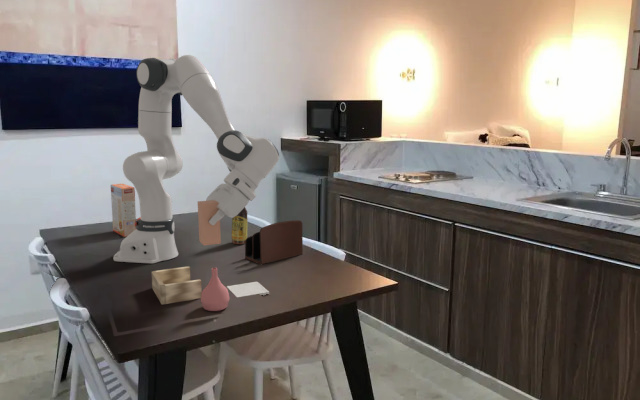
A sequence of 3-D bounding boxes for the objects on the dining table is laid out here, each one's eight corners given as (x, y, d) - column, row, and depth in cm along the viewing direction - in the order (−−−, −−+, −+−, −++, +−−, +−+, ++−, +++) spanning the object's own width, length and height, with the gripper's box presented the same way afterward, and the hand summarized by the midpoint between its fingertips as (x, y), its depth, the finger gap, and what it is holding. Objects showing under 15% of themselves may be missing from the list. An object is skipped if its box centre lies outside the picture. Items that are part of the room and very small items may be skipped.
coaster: (237, 299, 146) (237, 297, 146) (226, 288, 155) (226, 286, 155) (269, 294, 151) (269, 291, 151) (257, 283, 160) (257, 281, 160)
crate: (161, 307, 140) (160, 286, 139) (152, 290, 153) (151, 271, 152) (201, 300, 146) (201, 280, 145) (189, 284, 158) (188, 266, 157)
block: (203, 245, 145) (202, 204, 143) (199, 241, 149) (197, 201, 147) (220, 243, 147) (219, 202, 145) (216, 239, 152) (214, 200, 149)
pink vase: (204, 318, 134) (203, 274, 131) (198, 307, 140) (196, 266, 138) (233, 313, 137) (232, 270, 135) (225, 303, 144) (224, 262, 141)
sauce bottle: (228, 244, 205) (227, 195, 201) (236, 240, 211) (236, 193, 207) (242, 245, 203) (242, 196, 199) (250, 242, 208) (250, 194, 205)
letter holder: (303, 254, 193) (303, 218, 190) (261, 265, 179) (261, 226, 176) (286, 249, 200) (286, 214, 197) (244, 259, 186) (244, 221, 183)
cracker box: (137, 235, 216) (135, 187, 212) (123, 237, 212) (120, 188, 209) (126, 229, 227) (123, 182, 223) (112, 231, 223) (109, 184, 219)
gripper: (220, 174, 157) (190, 208, 155) (242, 182, 139) (208, 221, 137) (235, 187, 160) (205, 221, 157) (258, 197, 142) (225, 235, 139)
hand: (207, 221), depth 147 cm, fingers closed on block, 5 cm apart
